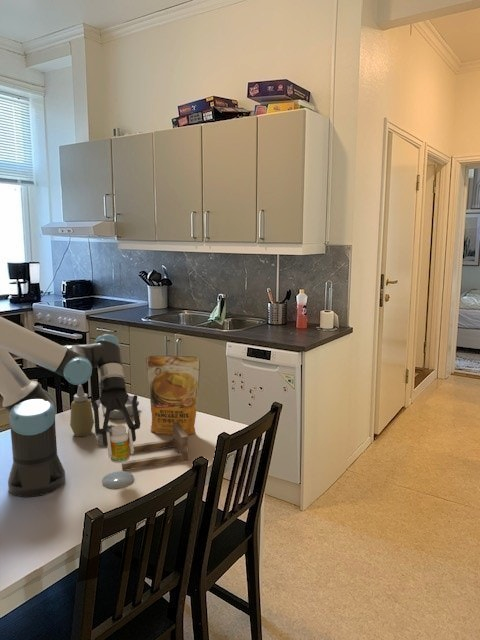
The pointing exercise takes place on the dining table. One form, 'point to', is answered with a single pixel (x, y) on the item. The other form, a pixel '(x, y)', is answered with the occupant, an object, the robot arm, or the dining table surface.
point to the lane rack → (178, 442)
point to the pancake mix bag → (173, 392)
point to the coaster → (117, 479)
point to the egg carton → (99, 437)
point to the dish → (117, 413)
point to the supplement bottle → (119, 444)
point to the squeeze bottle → (81, 414)
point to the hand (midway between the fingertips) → (121, 453)
